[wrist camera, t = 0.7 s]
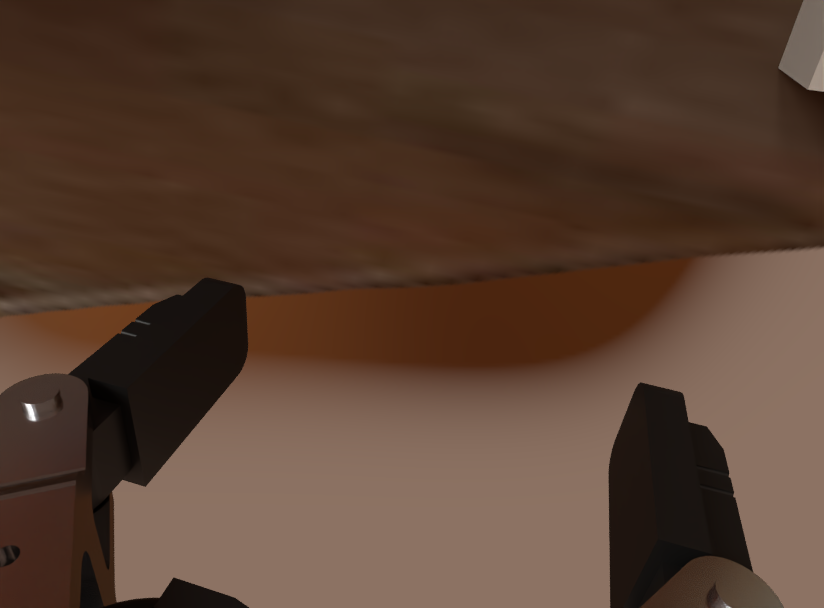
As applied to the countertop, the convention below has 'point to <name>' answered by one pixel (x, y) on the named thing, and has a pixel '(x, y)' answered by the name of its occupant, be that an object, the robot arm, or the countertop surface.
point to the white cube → (806, 47)
